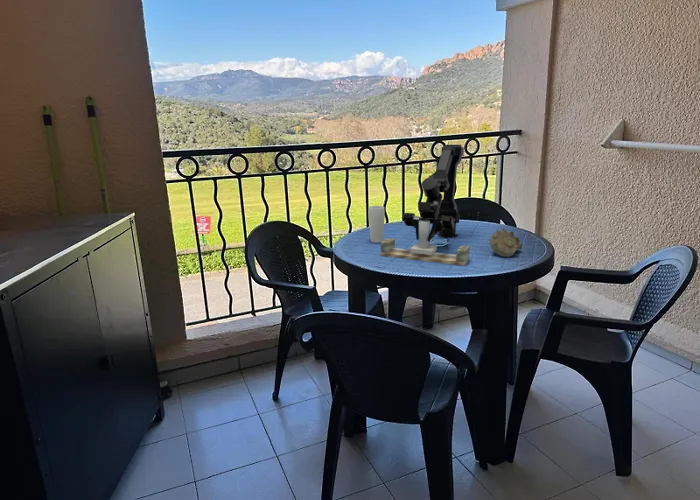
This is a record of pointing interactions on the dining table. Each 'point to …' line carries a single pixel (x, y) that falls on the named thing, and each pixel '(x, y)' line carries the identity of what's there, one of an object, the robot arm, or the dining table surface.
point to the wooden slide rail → (391, 251)
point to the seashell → (504, 243)
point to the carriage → (424, 240)
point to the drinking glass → (376, 223)
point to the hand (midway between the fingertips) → (422, 240)
